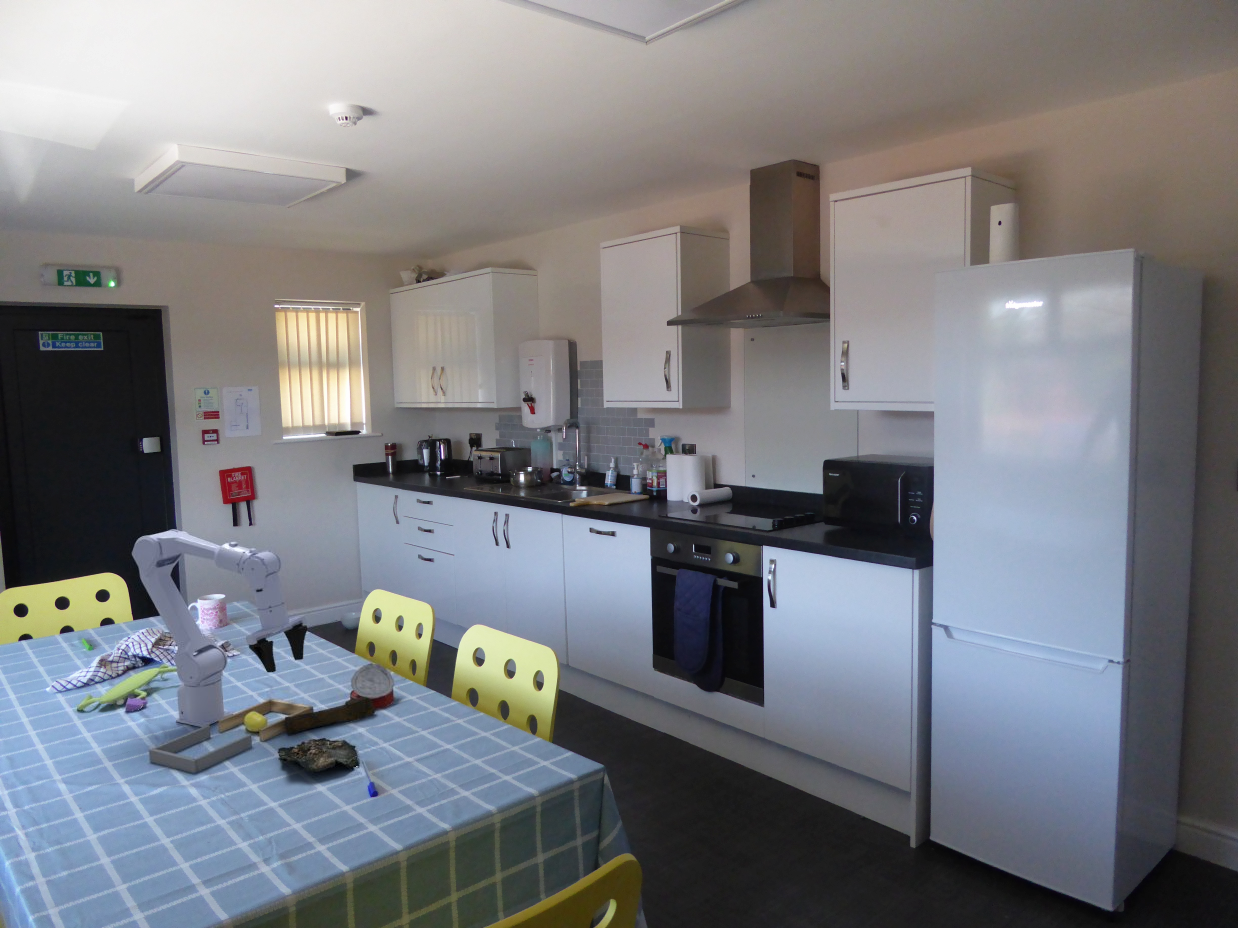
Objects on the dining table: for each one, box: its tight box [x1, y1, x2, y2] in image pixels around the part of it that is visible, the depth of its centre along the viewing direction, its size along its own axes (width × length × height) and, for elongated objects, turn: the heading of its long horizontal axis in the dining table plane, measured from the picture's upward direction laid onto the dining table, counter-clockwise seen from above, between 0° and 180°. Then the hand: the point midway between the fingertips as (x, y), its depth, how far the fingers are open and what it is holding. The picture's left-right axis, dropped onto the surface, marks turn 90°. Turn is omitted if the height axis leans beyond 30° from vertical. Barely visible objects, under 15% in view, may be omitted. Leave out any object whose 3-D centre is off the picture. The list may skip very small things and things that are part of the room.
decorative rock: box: [277, 737, 360, 774], centre depth 164 cm, size 19×6×15 cm
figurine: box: [76, 663, 177, 712], centre depth 205 cm, size 18×27×6 cm
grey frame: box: [148, 725, 253, 774], centre depth 169 cm, size 14×13×2 cm
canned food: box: [349, 662, 395, 711], centre depth 194 cm, size 11×10×10 cm
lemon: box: [243, 711, 268, 733], centre depth 181 cm, size 4×8×4 cm, turn 40°
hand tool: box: [284, 697, 376, 736], centre depth 182 cm, size 19×4×5 cm, turn 118°
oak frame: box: [217, 698, 315, 742], centre depth 183 cm, size 14×14×2 cm
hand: (285, 665), depth 183 cm, fingers open, 7 cm apart
